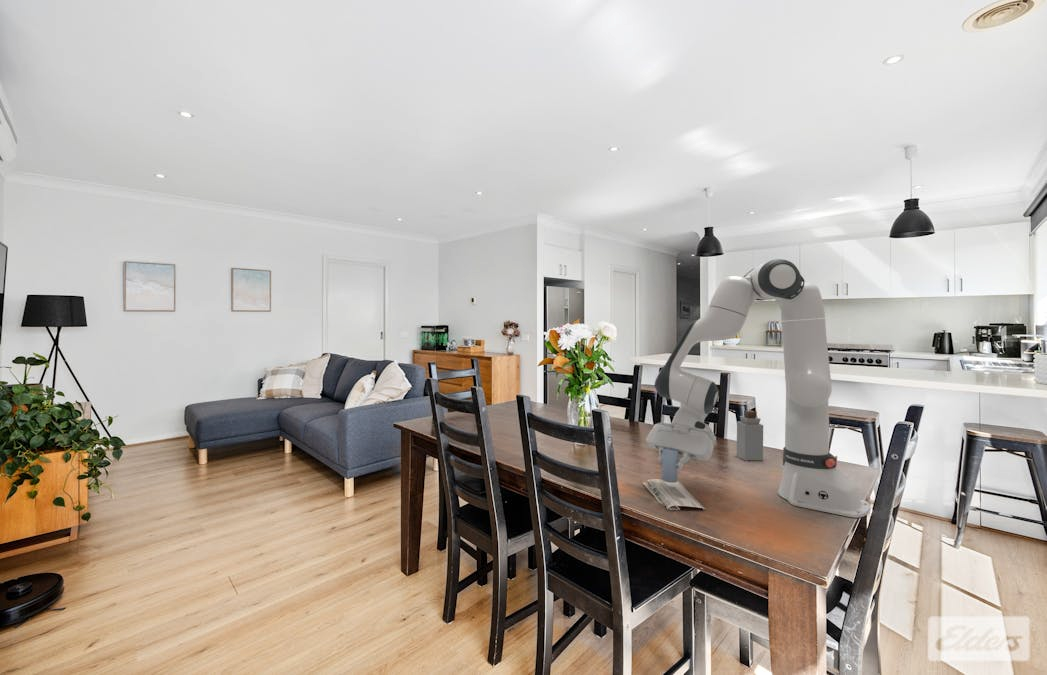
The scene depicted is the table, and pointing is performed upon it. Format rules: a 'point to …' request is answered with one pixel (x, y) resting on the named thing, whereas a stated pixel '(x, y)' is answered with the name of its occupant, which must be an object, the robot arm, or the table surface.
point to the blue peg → (669, 465)
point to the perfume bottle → (750, 437)
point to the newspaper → (671, 494)
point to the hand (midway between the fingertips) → (669, 464)
